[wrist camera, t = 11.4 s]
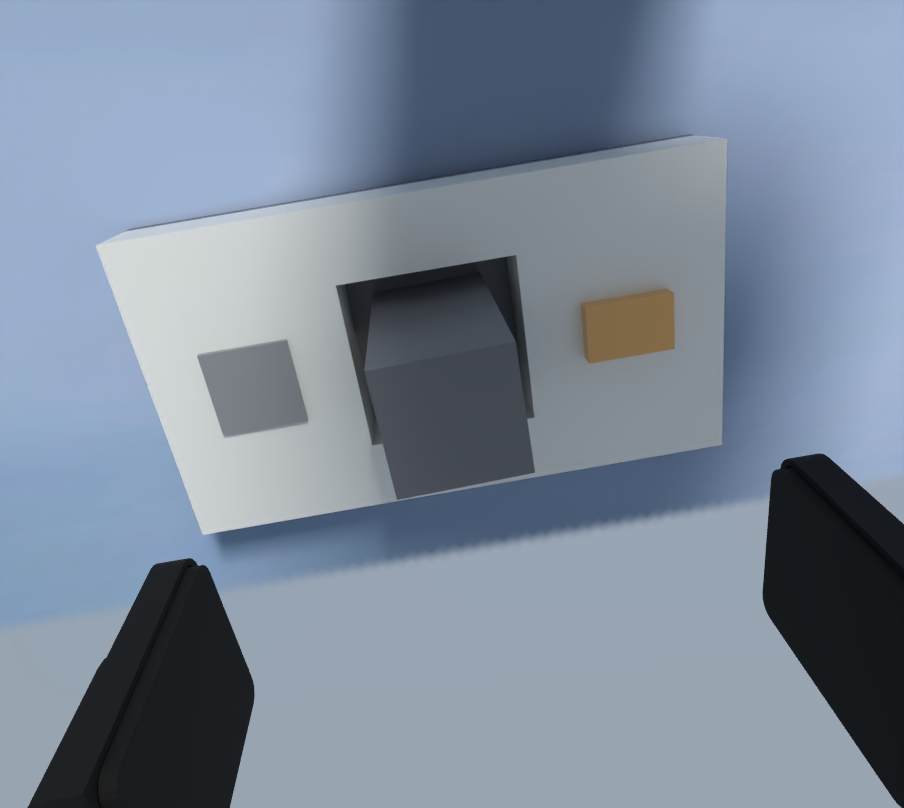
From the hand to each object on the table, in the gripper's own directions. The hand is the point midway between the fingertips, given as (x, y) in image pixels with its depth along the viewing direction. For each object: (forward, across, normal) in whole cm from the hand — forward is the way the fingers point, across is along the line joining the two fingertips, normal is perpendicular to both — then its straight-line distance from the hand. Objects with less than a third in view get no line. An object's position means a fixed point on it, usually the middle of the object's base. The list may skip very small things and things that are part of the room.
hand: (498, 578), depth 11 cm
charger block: (+16, 0, +1) cm, 16 cm away
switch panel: (+16, 0, +1) cm, 16 cm away
